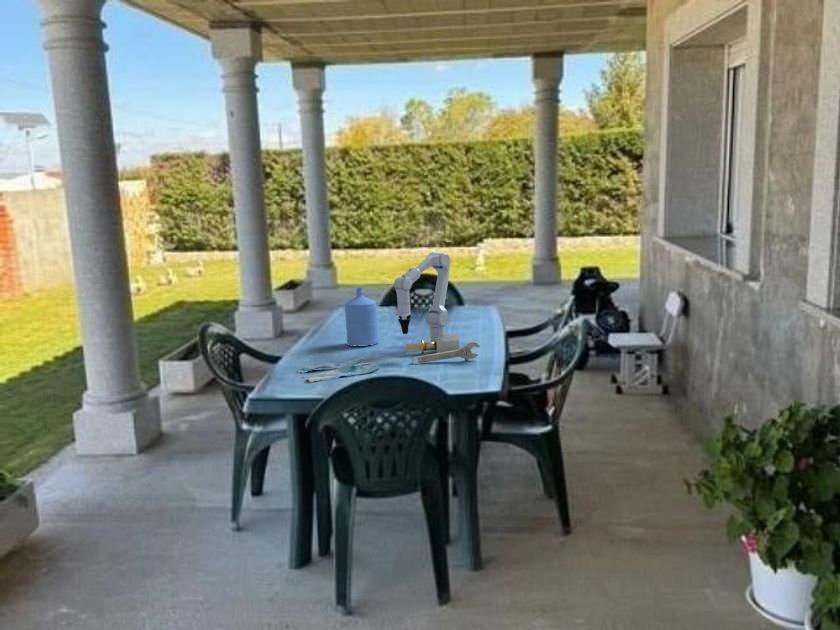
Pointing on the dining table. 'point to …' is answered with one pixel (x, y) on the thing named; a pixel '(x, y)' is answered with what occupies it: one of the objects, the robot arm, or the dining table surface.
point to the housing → (447, 343)
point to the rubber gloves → (343, 368)
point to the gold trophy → (421, 346)
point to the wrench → (450, 354)
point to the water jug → (361, 320)
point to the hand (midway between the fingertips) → (405, 332)
